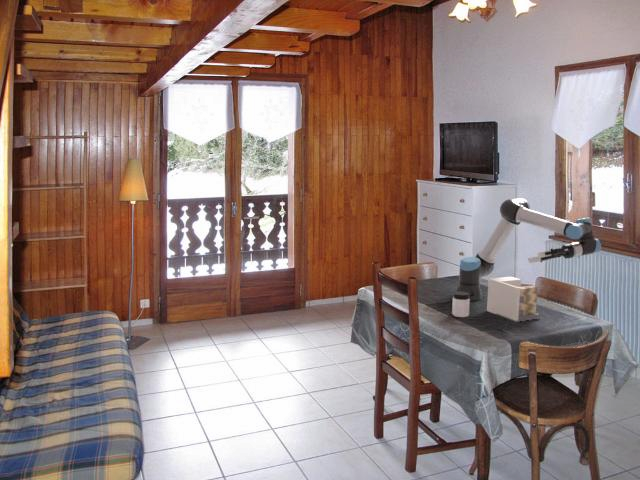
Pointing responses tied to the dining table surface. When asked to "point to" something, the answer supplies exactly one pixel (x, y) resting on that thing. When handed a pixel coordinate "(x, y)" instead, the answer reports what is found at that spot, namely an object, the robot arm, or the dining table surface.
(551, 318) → the dining table surface
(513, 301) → the cabinet
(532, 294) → the tan patterned box
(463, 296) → the jar
